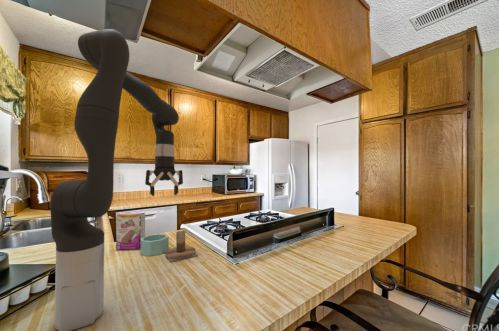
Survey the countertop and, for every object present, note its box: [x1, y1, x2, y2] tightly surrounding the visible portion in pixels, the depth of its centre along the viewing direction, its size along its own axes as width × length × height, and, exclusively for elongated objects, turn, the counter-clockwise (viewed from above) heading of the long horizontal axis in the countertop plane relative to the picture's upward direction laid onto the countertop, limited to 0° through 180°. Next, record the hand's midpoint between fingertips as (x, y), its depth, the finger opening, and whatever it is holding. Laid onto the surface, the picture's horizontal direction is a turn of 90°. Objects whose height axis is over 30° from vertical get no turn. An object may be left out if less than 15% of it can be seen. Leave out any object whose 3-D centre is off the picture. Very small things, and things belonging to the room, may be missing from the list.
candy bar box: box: [115, 211, 146, 251], centre depth 99 cm, size 11×5×16 cm, turn 92°
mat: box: [165, 251, 199, 263], centre depth 90 cm, size 11×11×1 cm
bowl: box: [139, 233, 170, 257], centre depth 94 cm, size 11×11×6 cm
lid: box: [165, 230, 196, 260], centre depth 90 cm, size 12×12×9 cm
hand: (164, 195), depth 86 cm, fingers open, 8 cm apart
